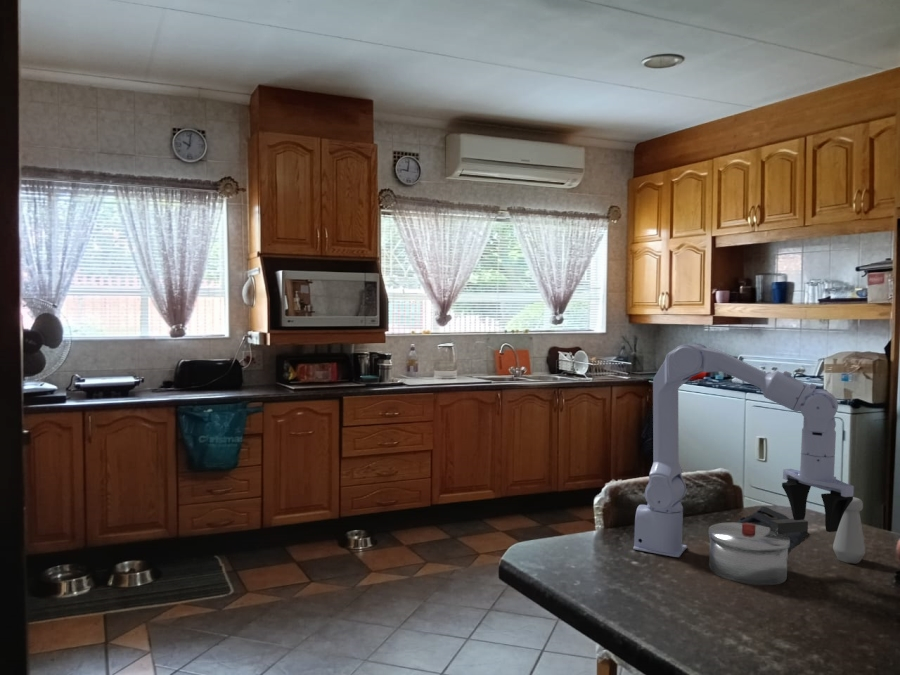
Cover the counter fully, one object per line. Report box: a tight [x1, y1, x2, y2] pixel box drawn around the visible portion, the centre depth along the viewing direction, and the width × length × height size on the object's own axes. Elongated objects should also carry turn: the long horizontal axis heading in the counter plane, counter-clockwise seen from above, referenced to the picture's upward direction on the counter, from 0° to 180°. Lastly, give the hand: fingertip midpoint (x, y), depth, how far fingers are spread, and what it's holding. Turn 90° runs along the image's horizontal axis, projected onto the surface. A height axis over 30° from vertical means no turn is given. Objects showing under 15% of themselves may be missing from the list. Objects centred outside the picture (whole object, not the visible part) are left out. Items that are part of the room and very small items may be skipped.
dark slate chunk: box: [736, 506, 809, 553], centre depth 163 cm, size 15×22×5 cm
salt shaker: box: [832, 496, 866, 564], centre depth 148 cm, size 6×6×13 cm
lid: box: [708, 518, 809, 552], centre depth 140 cm, size 20×15×3 cm
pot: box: [708, 537, 789, 586], centre depth 142 cm, size 20×14×6 cm
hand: (814, 525), depth 136 cm, fingers open, 7 cm apart
